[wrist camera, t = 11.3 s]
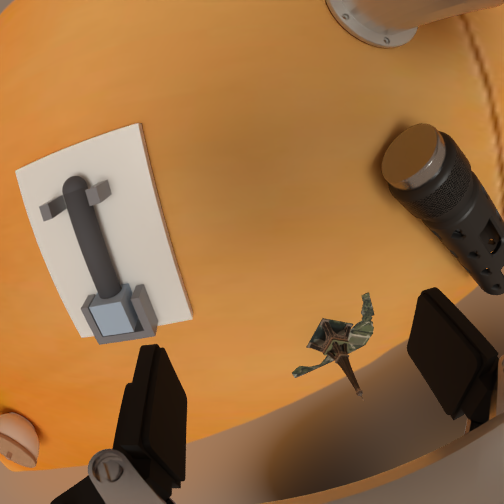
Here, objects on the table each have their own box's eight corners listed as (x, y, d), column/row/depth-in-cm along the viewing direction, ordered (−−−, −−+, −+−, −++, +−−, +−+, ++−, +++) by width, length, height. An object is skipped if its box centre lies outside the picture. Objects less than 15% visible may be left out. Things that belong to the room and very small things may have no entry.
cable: (61, 179, 27) (44, 187, 23) (92, 168, 27) (77, 175, 24) (111, 316, 34) (103, 336, 31) (140, 311, 34) (134, 331, 31)
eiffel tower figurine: (292, 376, 45) (315, 445, 33) (268, 335, 41) (290, 410, 29) (378, 335, 44) (418, 394, 32) (366, 288, 40) (416, 348, 28)
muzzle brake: (463, 277, 42) (502, 308, 33) (360, 177, 33) (411, 199, 24) (491, 232, 40) (533, 257, 30) (400, 116, 31) (458, 120, 21)
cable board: (21, 168, 27) (-3, 177, 22) (141, 123, 28) (128, 122, 23) (84, 331, 36) (73, 355, 32) (193, 312, 37) (191, 338, 32)
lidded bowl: (-3, 416, 43) (-17, 450, 33) (0, 395, 40) (-17, 433, 30) (40, 443, 48) (30, 478, 38) (49, 427, 45) (37, 467, 35)
